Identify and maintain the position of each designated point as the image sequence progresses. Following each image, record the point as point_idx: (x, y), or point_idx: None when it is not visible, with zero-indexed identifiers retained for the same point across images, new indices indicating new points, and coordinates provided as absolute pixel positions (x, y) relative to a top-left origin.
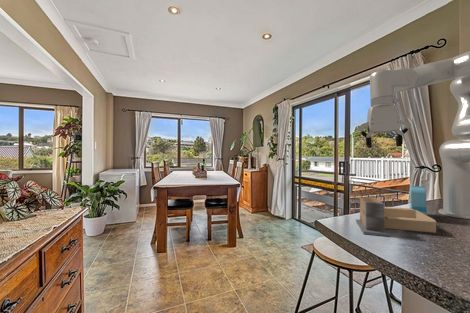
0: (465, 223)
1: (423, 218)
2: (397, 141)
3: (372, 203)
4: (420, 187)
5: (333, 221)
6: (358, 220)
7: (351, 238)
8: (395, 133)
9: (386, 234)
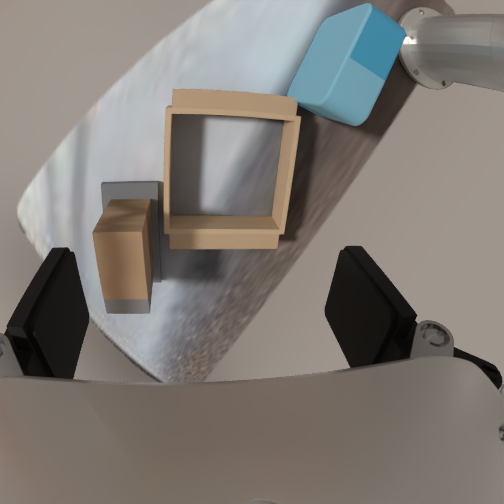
0: (392, 122)
1: (284, 175)
2: (350, 314)
3: (122, 313)
4: (379, 66)
5: (47, 204)
6: (106, 193)
7: (91, 307)
8: (409, 357)
9: (155, 281)
